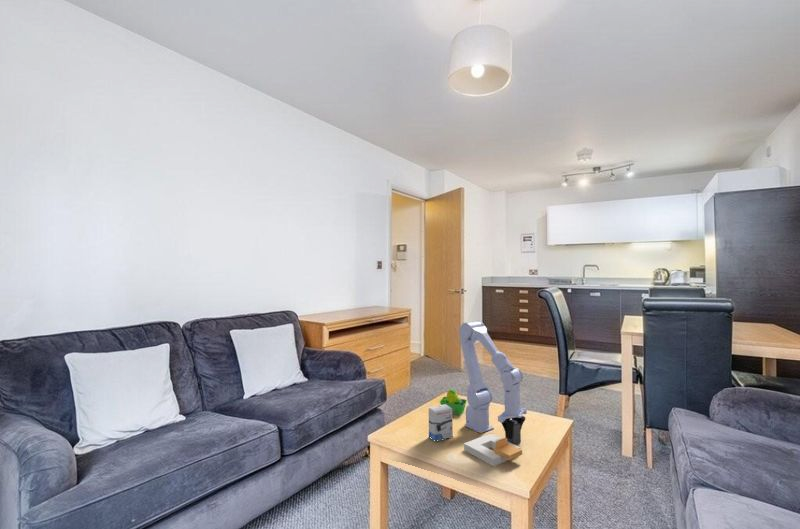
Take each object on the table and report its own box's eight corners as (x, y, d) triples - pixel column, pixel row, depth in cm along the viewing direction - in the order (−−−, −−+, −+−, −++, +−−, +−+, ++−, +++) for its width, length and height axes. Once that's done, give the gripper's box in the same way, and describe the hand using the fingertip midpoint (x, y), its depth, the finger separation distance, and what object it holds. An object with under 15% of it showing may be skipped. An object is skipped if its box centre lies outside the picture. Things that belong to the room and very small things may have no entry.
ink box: (435, 442, 143) (434, 411, 143) (428, 437, 147) (427, 407, 147) (453, 437, 147) (452, 407, 147) (446, 432, 151) (445, 403, 151)
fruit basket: (467, 410, 175) (467, 386, 175) (462, 417, 167) (462, 392, 167) (444, 407, 180) (443, 383, 180) (438, 413, 172) (438, 389, 172)
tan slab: (494, 452, 129) (494, 442, 129) (506, 446, 133) (506, 437, 133) (509, 460, 124) (509, 449, 124) (522, 454, 127) (522, 444, 128)
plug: (505, 441, 143) (505, 420, 143) (512, 438, 145) (511, 418, 145) (513, 445, 140) (513, 424, 140) (520, 442, 142) (520, 421, 142)
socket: (464, 450, 136) (463, 443, 136) (490, 440, 144) (490, 433, 144) (493, 466, 125) (493, 459, 125) (520, 454, 133) (520, 447, 133)
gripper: (508, 408, 135) (508, 445, 135) (532, 399, 144) (533, 435, 143) (493, 402, 141) (493, 438, 141) (517, 394, 149) (518, 428, 149)
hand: (512, 436), depth 143 cm, fingers closed on plug, 4 cm apart
